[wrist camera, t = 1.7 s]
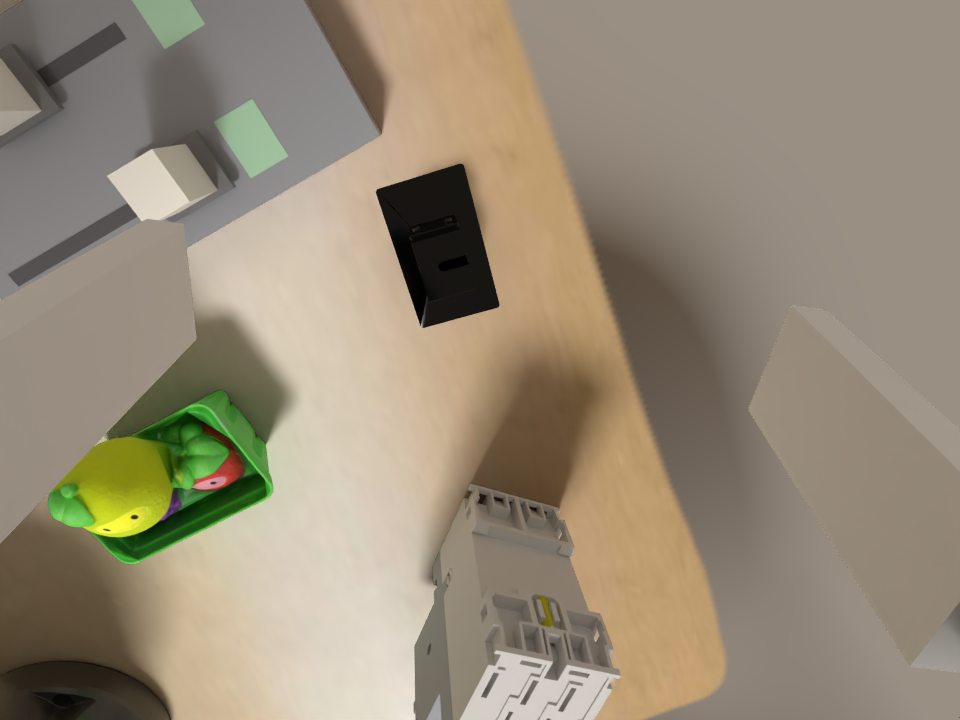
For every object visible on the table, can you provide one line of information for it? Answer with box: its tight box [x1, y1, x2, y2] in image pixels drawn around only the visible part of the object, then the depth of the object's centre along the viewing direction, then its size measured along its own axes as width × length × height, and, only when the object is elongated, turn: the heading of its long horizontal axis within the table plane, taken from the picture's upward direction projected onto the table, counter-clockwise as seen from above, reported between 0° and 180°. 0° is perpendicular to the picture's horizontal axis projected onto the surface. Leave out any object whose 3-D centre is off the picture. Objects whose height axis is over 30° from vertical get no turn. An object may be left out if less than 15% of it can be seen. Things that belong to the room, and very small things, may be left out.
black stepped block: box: [376, 164, 499, 328], centre depth 37 cm, size 12×7×5 cm, turn 15°
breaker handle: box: [107, 130, 237, 222], centre depth 30 cm, size 4×3×5 cm
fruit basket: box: [48, 390, 273, 564], centre depth 36 cm, size 11×9×11 cm
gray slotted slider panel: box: [0, 0, 382, 300], centre depth 33 cm, size 30×13×3 cm, turn 118°
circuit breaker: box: [414, 483, 621, 720], centre depth 42 cm, size 8×14×15 cm, turn 158°
